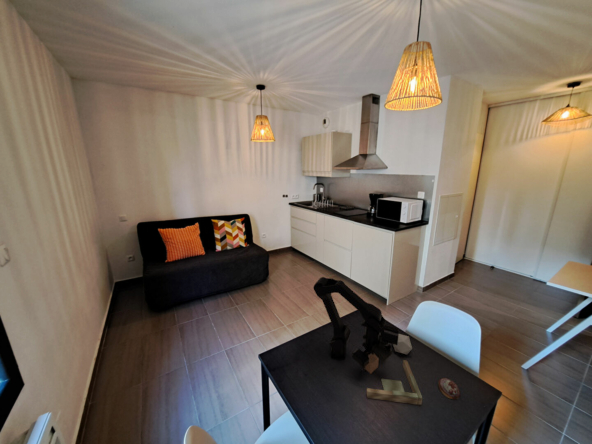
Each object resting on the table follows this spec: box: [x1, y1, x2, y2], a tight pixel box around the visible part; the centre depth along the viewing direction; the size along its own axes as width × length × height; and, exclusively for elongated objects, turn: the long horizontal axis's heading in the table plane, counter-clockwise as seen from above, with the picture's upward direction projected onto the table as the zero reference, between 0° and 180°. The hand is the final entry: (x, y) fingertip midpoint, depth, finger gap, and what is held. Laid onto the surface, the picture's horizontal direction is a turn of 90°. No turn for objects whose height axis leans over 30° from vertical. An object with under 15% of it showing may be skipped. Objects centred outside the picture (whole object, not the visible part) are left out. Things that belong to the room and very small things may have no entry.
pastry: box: [437, 377, 461, 400], centre depth 90 cm, size 8×8×5 cm
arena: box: [366, 359, 423, 406], centre depth 94 cm, size 20×17×4 cm
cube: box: [365, 354, 380, 374], centre depth 100 cm, size 6×6×6 cm
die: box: [392, 333, 413, 355], centre depth 108 cm, size 8×9×10 cm
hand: (369, 364), depth 101 cm, fingers open, 9 cm apart
